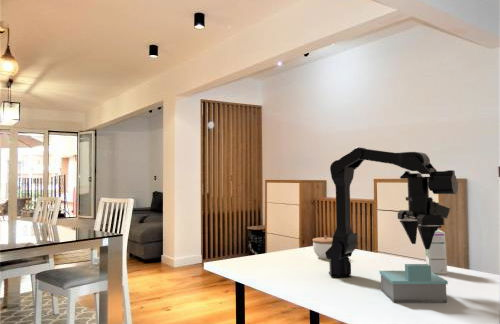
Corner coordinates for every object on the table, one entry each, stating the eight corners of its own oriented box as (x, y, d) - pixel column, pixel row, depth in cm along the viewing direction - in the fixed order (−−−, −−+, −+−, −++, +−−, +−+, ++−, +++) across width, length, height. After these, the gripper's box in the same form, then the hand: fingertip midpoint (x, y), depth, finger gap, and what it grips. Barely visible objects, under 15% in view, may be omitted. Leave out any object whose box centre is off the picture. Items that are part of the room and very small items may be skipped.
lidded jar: (311, 255, 167) (311, 233, 167) (336, 255, 167) (335, 233, 167) (314, 260, 156) (314, 237, 157) (341, 260, 156) (340, 237, 156)
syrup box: (447, 274, 132) (446, 232, 132) (429, 273, 133) (428, 231, 133) (442, 270, 137) (441, 229, 138) (425, 269, 138) (424, 229, 139)
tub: (393, 302, 103) (393, 283, 103) (381, 290, 114) (380, 273, 114) (446, 302, 102) (446, 283, 102) (429, 290, 113) (428, 273, 113)
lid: (392, 287, 103) (391, 266, 103) (379, 276, 114) (379, 257, 114) (447, 287, 102) (447, 266, 102) (429, 276, 114) (428, 257, 114)
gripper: (462, 194, 105) (464, 252, 104) (430, 192, 123) (432, 241, 123) (421, 195, 105) (424, 252, 104) (396, 193, 123) (397, 241, 123)
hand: (420, 246), depth 113 cm, fingers open, 9 cm apart
